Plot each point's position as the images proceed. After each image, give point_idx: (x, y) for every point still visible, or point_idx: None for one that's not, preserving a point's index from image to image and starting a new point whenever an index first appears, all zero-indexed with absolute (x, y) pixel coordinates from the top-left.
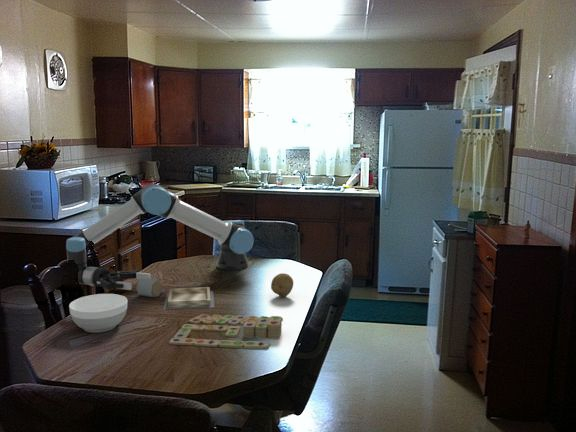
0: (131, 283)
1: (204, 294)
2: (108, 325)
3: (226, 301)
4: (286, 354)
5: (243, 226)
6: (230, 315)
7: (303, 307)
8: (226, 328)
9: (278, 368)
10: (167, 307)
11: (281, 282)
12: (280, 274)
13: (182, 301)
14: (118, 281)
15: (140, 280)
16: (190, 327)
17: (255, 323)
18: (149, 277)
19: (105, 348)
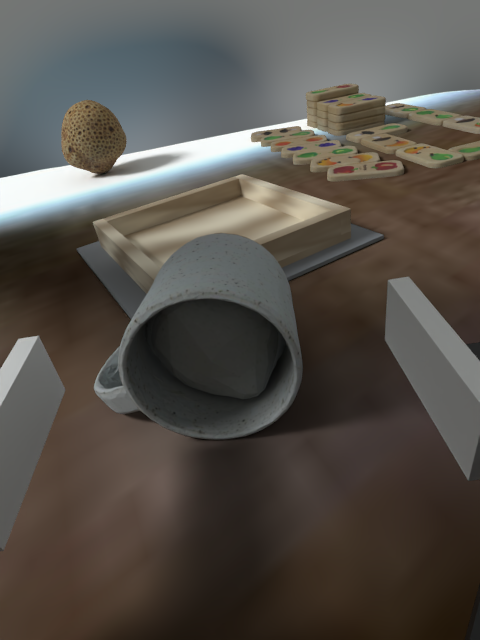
0: (391, 283)
1: (146, 232)
2: None
3: None
4: (394, 101)
5: None
6: (296, 156)
7: (167, 147)
8: (377, 135)
9: (444, 92)
10: (350, 239)
11: (114, 116)
12: (88, 102)
13: (305, 196)
14: (476, 397)
15: (256, 293)
16: (441, 151)
17: (355, 99)
18: (53, 366)
19: None
